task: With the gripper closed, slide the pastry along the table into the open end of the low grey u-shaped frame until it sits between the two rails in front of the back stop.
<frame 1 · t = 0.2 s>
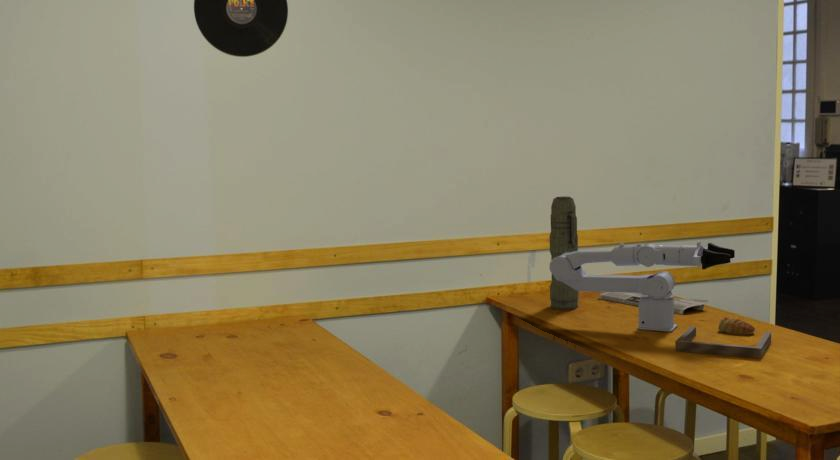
hand: (732, 256, 264), 21 cm above the table, tool horizontal, fingers open, 7 cm apart
grey u-shaped frame: (724, 345, 254), on the table
pastry: (735, 333, 269), on the table
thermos: (564, 307, 308), on the table
newspaper: (653, 306, 309), on the table
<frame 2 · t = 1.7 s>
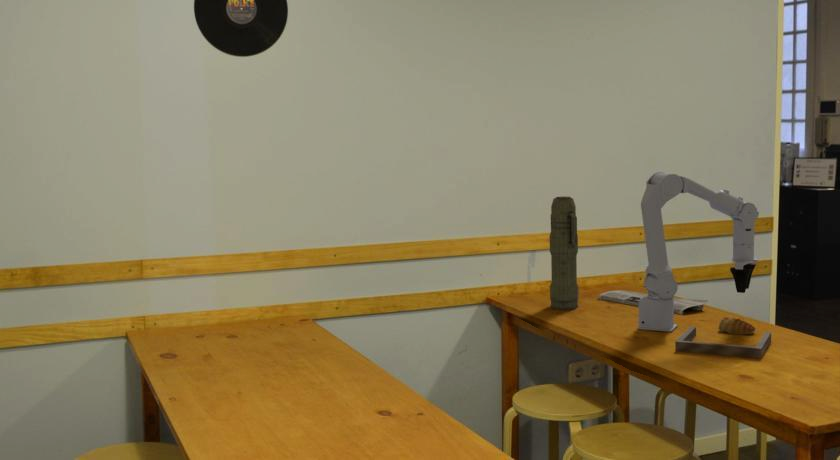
hand: (742, 290, 278), 9 cm above the table, tool pointing down, fingers open, 6 cm apart
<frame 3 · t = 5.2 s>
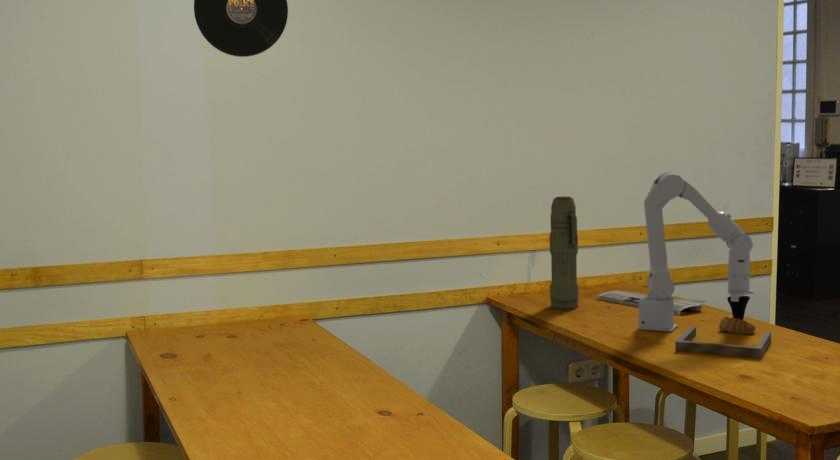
hand: (738, 322, 273), 2 cm above the table, tool pointing down, fingers closed
pastry: (735, 332, 269), on the table, touching gripper
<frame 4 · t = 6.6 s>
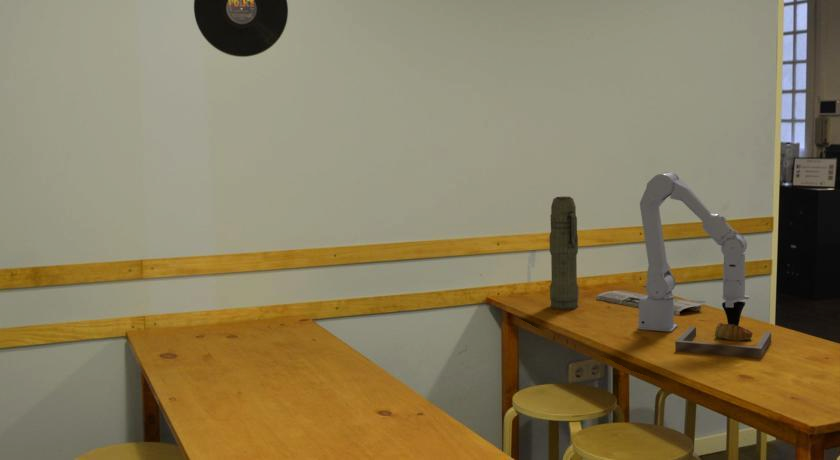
hand: (733, 328, 266), 2 cm above the table, tool pointing down, fingers closed
pastry: (731, 338, 262), on the table, touching gripper
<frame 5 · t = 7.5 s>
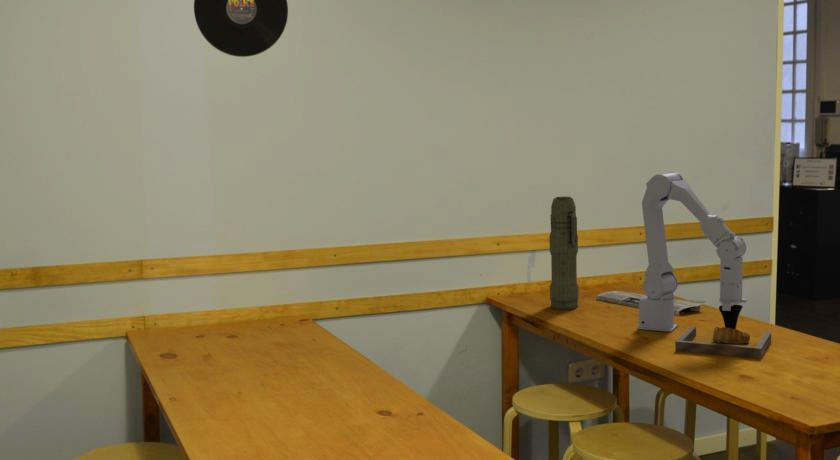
hand: (730, 332, 262), 2 cm above the table, tool pointing down, fingers closed
pastry: (728, 342, 258), on the table
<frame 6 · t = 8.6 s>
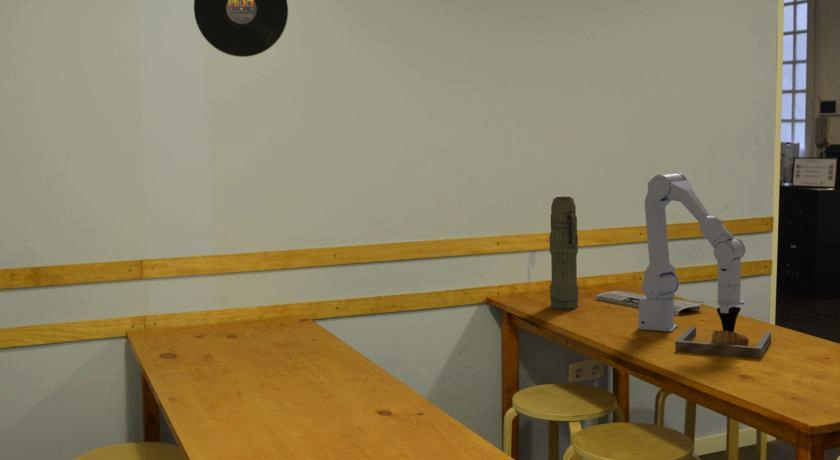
hand: (728, 334, 259), 2 cm above the table, tool pointing down, fingers closed
pastry: (726, 345, 256), on the table, touching gripper
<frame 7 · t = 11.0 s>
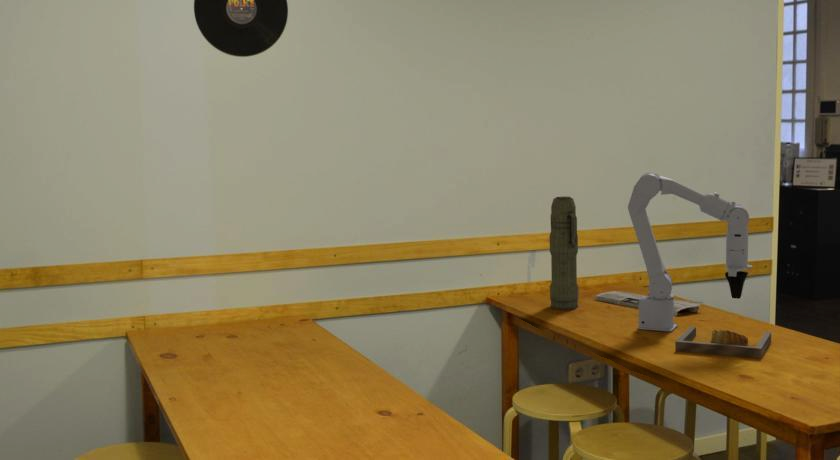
hand: (736, 298, 268), 9 cm above the table, tool pointing down, fingers closed
pastry: (726, 345, 256), on the table
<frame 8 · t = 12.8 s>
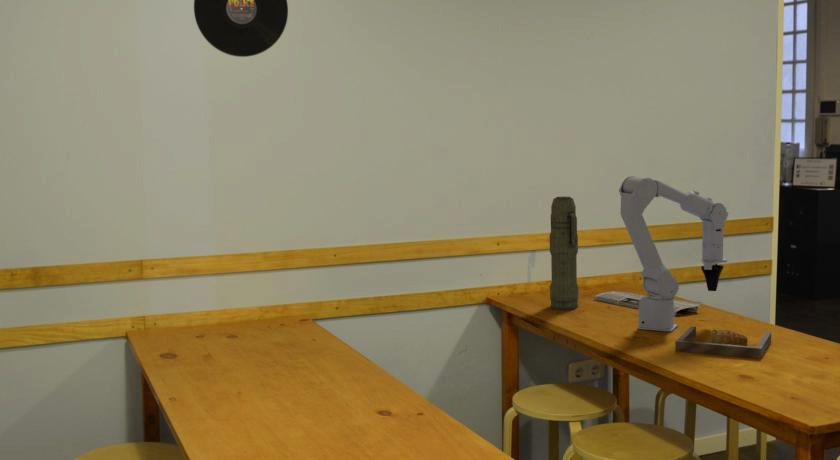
hand: (712, 290, 279), 9 cm above the table, tool pointing down, fingers closed
at the end: pastry inside the target area (3.0 cm from its centre), on the table; pastry moved 14.3 cm from its start; the gripper is holding nothing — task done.
